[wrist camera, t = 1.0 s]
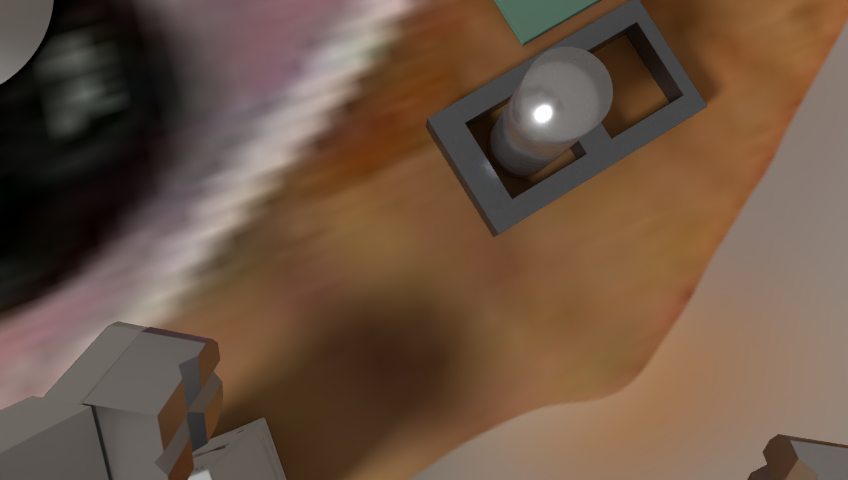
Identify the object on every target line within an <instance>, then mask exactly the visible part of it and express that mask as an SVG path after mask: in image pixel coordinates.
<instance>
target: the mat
mask: <svg viewBox="0 0 848 480" xmlns="http://www.w3.org/2000/svg"><path fill="white" fill-rule="evenodd" d="M494 1H495V3H496V5H497V6H498V8H499V9H500V11H501V13H502V14H503V16H504V17H505V19H506V21H507V22H508V24H509V25H510V27H511V29H512V30H513V32H514V33H515V35H516V36H517V38H518V40H519V41H520V43H521V44H522V46H523V45H525V44H527V43H528V42H530V41H532V40H534V39H535V38H537V37H539V36H541V35H542V34H544V33H546V32H547V31H549V30H551V29H553V28H554V27H556V26H558V25H560V24H561V23H563V22H565V21H566V20H568V19H570V18H572V17H573V16H575V15H577V14H578V13H580V12H582V11H584V10H585V9H587V8H589V7H591V6H592V5H594V4H596V3H597V2H599V1H601V0H494Z"/></svg>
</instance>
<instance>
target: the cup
mask: <svg viewBox="0 0 848 480" xmlns="http://www.w3.org/2000/svg"><path fill="white" fill-rule="evenodd" d="M612 99H613V85H612V81H611V78H610V75H609V73H608V71H607V69H606V67H605V66H604V65H603V63H602V62H601V61H600V60H599V59H598V58H597V57H595V56H594V55H593V54H591V53H589V52H587V51H585V50H583V49H580V48H576V47H558V48H554V49H551V50H549V51H547V52H545V53H543V54H542V55H540V56H539V57H538V58H537V59H536V60H535V61H534V62H533V64H532V65H531V67H530V68H529V70H528V72H527V73H526V75H525V76H524V78H523V80H522V81H521V83H520V84H519V86H518V88H517V89H516V91H515V92H514V94H513V96H512V97H511V99H510V100H509V102H508V103H507V105H506V107H505V108H504V110H503V111H502V113H501V115H500V116H499V118H498V119H497V121H496V123H495V124H494V126H493V127H492V129H491V131H490V133H489V136H488V141H487V149H488V154H489V157H490V159H491V161H492V163H493V164H494V165H495V167H496V168H497V169H498V170H500V171H501V172H502V173H504V174H506V175H508V176H511V177H515V178H526V177H530V176H533V175H535V174H537V173H538V172H540V171H541V170H542V169H544V168H545V167H546V166H547V165H549V164H550V163H551V162H552V161H554V160H555V159H556V158H557V157H558V156H560V155H561V154H562V153H563V152H565V151H566V150H567V149H568V148H570V147H571V146H572V145H573V144H575V143H576V142H577V141H578V140H580V139H581V138H582V137H583V136H585V135H586V134H587V133H588V132H589V131H591V130H592V129H593V128H594V127H596V126H597V125H598V124H599V123H600V122H601V121H602V120H603V119H604V118H605V116H606V115H607V113H608V111H609V109H610V107H611V103H612Z"/></svg>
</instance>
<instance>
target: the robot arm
mask: <svg viewBox="0 0 848 480" xmlns="http://www.w3.org/2000/svg"><path fill="white" fill-rule="evenodd" d="M52 9H53V0H0V84H2V83H3V82H5V81H6V80H8V79H9V78H10V77H12V76H13V75H14V74H15V73H16V72H18V71H19V70H20V69H21V68H22V67H23V66H24V65H25V64H26V63H27V62H28V60H29V59H30V58H31V57H32V55H33V54H34V53H35V51H36V50H37V48H38V47H39V45H40V43H41V41H42V39H43V38H44V35H45V33H46V31H47V28H48V25H49V22H50V18H51V14H52ZM219 361H220V354H219V347H218V342H216V341H215V340H213V339H209V338H204V337H199V336H194V335H189V334H184V333H178V332H173V331H168V330H163V329H158V328H153V327H149V328H148V327H143V326H138V325H133V324H128V323H123V322H116V323H113V324H111V325H109V326H108V327H106V328H105V330H104V331H103V332H102V333H101V334H100V335H99V336H98V337H97V338H96V339H95V341H94V342H93V343H92V344H91V345H90V346H89V347H88V348H87V349H86V350H85V352H84V353H83V354H82V355H81V356H80V357H79V358H78V359H77V360H76V361H75V363H74V364H73V365H72V366H71V367H70V368H69V369H68V370H67V371H66V372H65V374H64V375H63V376H62V377H61V378H60V379H59V380H58V381H57V382H56V384H55V385H54V386H53V387H52V388H51V389H50V390H49V391H48V392H47V393H46V395H45V396H44V397H43V398H42V397H35V396H31V397H29V398H27V399H25V400H23V401H20V402H18V403H16V404H14V405H12V406H9V407H7V408H5V409H3V410H0V480H188V478H189V477H190V475H191V473H192V471H193V469H194V462H193V454H192V453H193V452H194V451H196V450H198V449H199V448H201V447H203V446H204V445H206V444H207V443H208V442H209V440H210V438H211V436H212V434H213V432H214V430H215V428H216V425H217V422H218V419H219V415H220V412H221V409H222V400H223V386H222V381H221V380H220V379H219V377H218V376H217V375H216V374H215V373H214V369H215V368H216V366H217V364H218V362H219ZM763 454H764V457H765V459H766V462H767V465H765V466H764V467H761V468H760V469H758V470H756V471H754V472H752V473H751V474H750V476H749V478H748V480H848V445H843V444H836V443H830V442H824V441H818V440H811V439H805V438H798V437H793V436H786V435H780V434H778V435H777V436H775V437H774V438H772V439H771V440H770V441H769V442H768V444H767V446H766V447H765V449H764V451H763Z"/></svg>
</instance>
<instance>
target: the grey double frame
mask: <svg viewBox="0 0 848 480" xmlns="http://www.w3.org/2000/svg"><path fill="white" fill-rule="evenodd" d="M625 34H626V35H627V36H628V38H629V39H630V41H631V43H632V44H633V46H634V47H635V49H636V50H637V52H638V54H639V55H640V57H641V58H642V60H643V61H644V63H645V65H646V66H647V68H648V69H649V71H650V72H651V74H652V76H653V77H654V79H655V80H656V82H657V83H658V85H659V87H660V88H661V90H662V91H663V93H664V94H665V96H666V98H667V99H668V101H669V102H670V104H669V105H667V106H665V107H664V108H662V109H660V110H659V111H657V112H655V113H654V114H652V115H650V116H649V117H647V118H645V119H644V120H642V121H641V122H639V123H637V124H636V125H634V126H632V127H631V128H629V129H627V130H626V131H624V132H622V133H621V134H619V135H617V136H616V137H614V138H612V139H611V137H610V136H609V134H608V133H607V131H606V130H605V128H604V126H603V125H602V123H601V122H600V123H599V124H598V125H597V126H596V127H594V128H593V129H592V130H591V131H589V132H588V133H587V134H586V135H585V136H583V137H582V138H581V139H580V140H578V141H577V142H576V143H575V144H573V145H572V146H571V147H570V148H571V150H572V152H573V153H574V155H575V156H576V158H577V160H576V161H575V162H573V163H571V164H570V165H568V166H566V167H565V168H563V169H561V170H560V171H558V172H556V173H555V174H553V175H551V176H550V177H548V178H547V179H545V180H543V181H542V182H540V183H538V184H537V185H535V186H533V187H532V188H530V189H528V190H527V191H525V192H523V193H522V194H520V195H518V196H517V197H515V198H514V199H512V198H511V197H510V195H509V194H508V192H507V190H506V189H505V187H504V186H503V184H502V182H501V181H500V179H499V177H498V176H497V174H496V173H495V171H494V169H493V168H492V166H491V165H490V163H489V161H488V160H487V158H486V156H485V155H484V153H483V152H482V150H481V148H480V147H479V145H478V144H477V142H476V140H475V139H474V137H473V135H472V134H471V132H470V131H469V129H468V126H470V125H472V124H473V123H475V122H477V121H479V120H480V119H482V118H484V117H485V116H487V115H489V114H490V113H492V112H494V111H495V110H497V109H499V108H501V107H502V106H504V105H506V104H507V103H508V102H509V100H510V99H511V97H512V96H513V94H514V92H515V91H516V89H517V88H518V86H519V84H520V83H521V81H522V80H523V78H524V76H525V75H526V73H527V72H528V70H529V68H530V67H531V65H532V64H533V62H534V61H535V60H536V59H537V58H538V57H539V56H540V55H542V54H543V53H545V52H547V51H549V50H551V49H554V48H558V47H576V48H580V49H583V50H585V51H587V52H589V53H591V54H592V53H594V52H596V51H597V50H599V49H601V48H603V47H604V46H606V45H608V44H609V43H611V42H613V41H614V40H616V39H618V38H620V37H621V36H623V35H625ZM706 107H707V105H706V103H705V102H704V100H703V99H702V97H701V96H700V94H699V92H698V91H697V89H696V88H695V86H694V85H693V83H692V82H691V80H690V78H689V77H688V75H687V74H686V72H685V71H684V69H683V67H682V66H681V64H680V63H679V61H678V60H677V58H676V57H675V55H674V53H673V52H672V50H671V49H670V47H669V46H668V44H667V42H666V41H665V39H664V38H663V36H662V35H661V33H660V32H659V30H658V28H657V27H656V25H655V24H654V22H653V21H652V19H651V17H650V16H649V14H648V13H647V11H646V10H645V8H644V7H643V5H642V3H641V2H640V0H630V1H629V2H627V3H625V4H624V5H622V6H620V7H618V8H617V9H615V10H613V11H611V12H610V13H608V14H606V15H605V16H603V17H601V18H599V19H598V20H596V21H594V22H593V23H591V24H589V25H587V26H586V27H584V28H582V29H581V30H579V31H577V32H575V33H574V34H572V35H570V36H569V37H567V38H565V39H563V40H562V41H560V42H558V43H557V44H555V45H553V46H551V47H550V48H548V49H546V50H545V51H543V52H541V53H539V54H538V55H536V56H534V57H533V58H531V59H529V60H527V61H526V62H524V63H522V64H521V65H519V66H517V67H515V68H514V69H512V70H510V71H509V72H507V73H505V74H503V75H502V76H500V77H498V78H497V79H495V80H493V81H491V82H490V83H488V84H486V85H485V86H483V87H481V88H479V89H478V90H476V91H474V92H473V93H471V94H469V95H467V96H466V97H464V98H462V99H461V100H459V101H457V102H455V103H454V104H452V105H450V106H449V107H447V108H445V109H443V110H442V111H440V112H438V113H437V114H435V115H433V116H431V117H430V118H428V119H427V123H426V128H427V130H428V131H429V133H430V135H431V136H432V138H433V140H434V141H435V143H436V144H437V146H438V148H439V149H440V151H441V153H442V154H443V156H444V157H445V159H446V161H447V162H448V164H449V166H450V167H451V169H452V170H453V172H454V174H455V175H456V177H457V179H458V180H459V182H460V183H461V185H462V187H463V188H464V190H465V192H466V193H467V195H468V196H469V198H470V200H471V201H472V203H473V205H474V206H475V208H476V209H477V211H478V213H479V214H480V216H481V218H482V219H483V221H484V222H485V224H486V226H487V227H488V229H489V231H490V232H491V234H492V235H493V237H494V236H496V235H498V234H500V233H501V232H503V231H505V230H506V229H508V228H510V227H511V226H513V225H514V224H516V223H518V222H519V221H521V220H523V219H524V218H526V217H528V216H529V215H531V214H532V213H534V212H536V211H537V210H539V209H541V208H542V207H544V206H546V205H547V204H549V203H550V202H552V201H554V200H555V199H557V198H559V197H560V196H562V195H564V194H565V193H567V192H568V191H570V190H572V189H573V188H575V187H577V186H578V185H580V184H582V183H583V182H585V181H586V180H588V179H590V178H591V177H593V176H595V175H596V174H598V173H600V172H601V171H603V170H604V169H606V168H608V167H609V166H611V165H613V164H614V163H616V162H618V161H619V160H621V159H622V158H624V157H626V156H627V155H629V154H631V153H632V152H634V151H636V150H637V149H639V148H640V147H642V146H644V145H645V144H647V143H649V142H650V141H652V140H654V139H655V138H657V137H658V136H660V135H662V134H663V133H665V132H667V131H668V130H670V129H672V128H673V127H675V126H676V125H678V124H680V123H681V122H683V121H685V120H686V119H688V118H690V117H691V116H693V115H694V114H696V113H698V112H699V111H701V110H703V109H704V108H706Z"/></svg>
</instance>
